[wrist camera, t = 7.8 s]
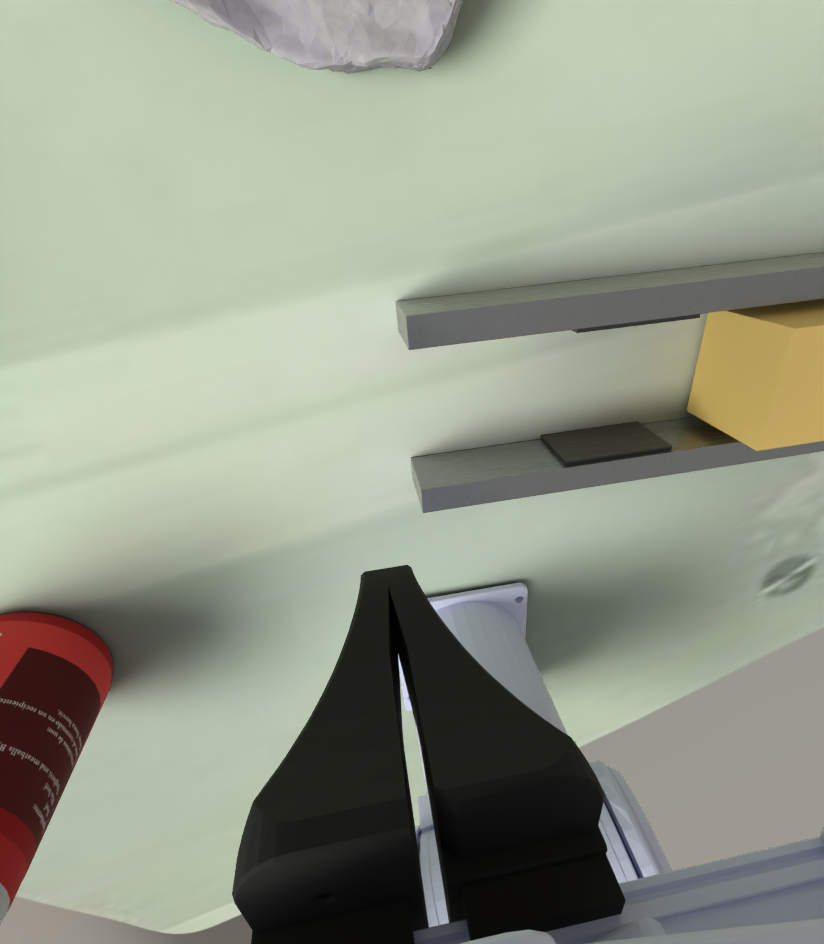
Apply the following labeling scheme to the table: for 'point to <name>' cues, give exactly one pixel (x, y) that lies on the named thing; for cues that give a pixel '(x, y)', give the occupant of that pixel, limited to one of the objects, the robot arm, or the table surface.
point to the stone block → (340, 30)
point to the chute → (581, 310)
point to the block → (763, 374)
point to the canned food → (42, 727)
